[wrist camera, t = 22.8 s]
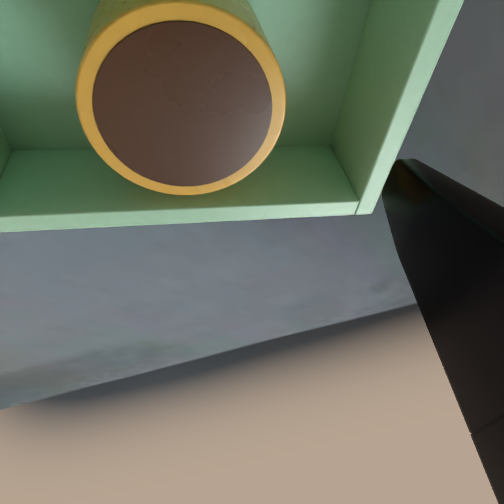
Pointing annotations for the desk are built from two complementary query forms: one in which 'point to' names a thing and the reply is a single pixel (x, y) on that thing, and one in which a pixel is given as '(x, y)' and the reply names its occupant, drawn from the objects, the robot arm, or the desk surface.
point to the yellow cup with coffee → (180, 92)
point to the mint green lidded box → (281, 156)
